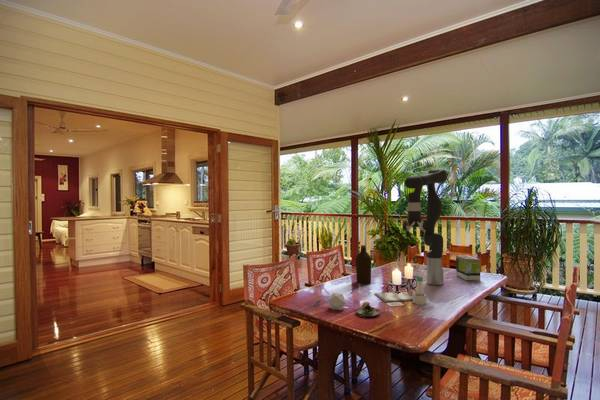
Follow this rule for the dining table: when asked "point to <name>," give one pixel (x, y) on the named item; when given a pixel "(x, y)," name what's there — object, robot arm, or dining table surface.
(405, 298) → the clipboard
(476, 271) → the tea box
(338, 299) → the white faceted polyhedron
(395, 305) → the word card
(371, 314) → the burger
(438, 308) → the dining table surface
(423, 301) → the pen cup
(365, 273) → the olive oil
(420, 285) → the marker
